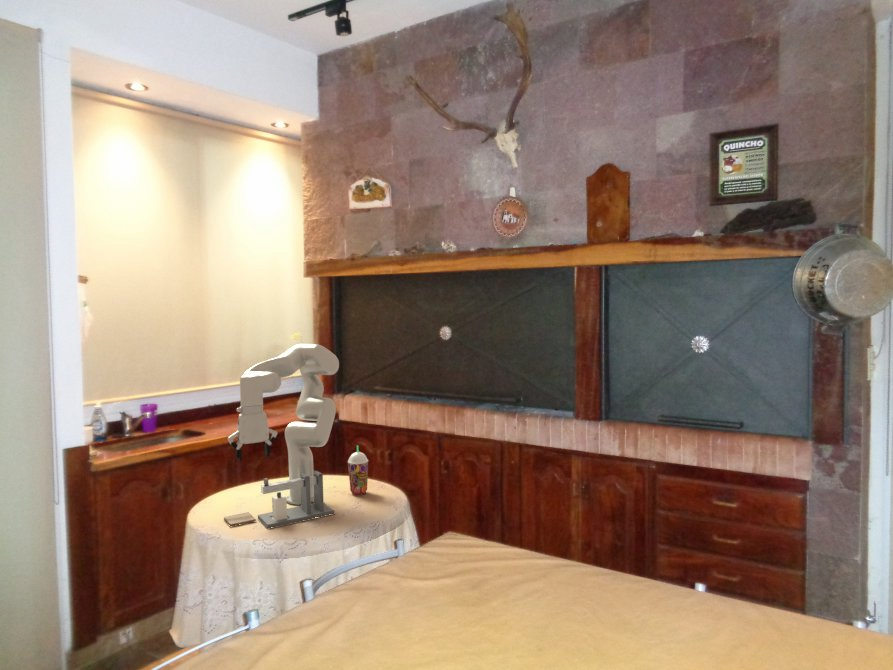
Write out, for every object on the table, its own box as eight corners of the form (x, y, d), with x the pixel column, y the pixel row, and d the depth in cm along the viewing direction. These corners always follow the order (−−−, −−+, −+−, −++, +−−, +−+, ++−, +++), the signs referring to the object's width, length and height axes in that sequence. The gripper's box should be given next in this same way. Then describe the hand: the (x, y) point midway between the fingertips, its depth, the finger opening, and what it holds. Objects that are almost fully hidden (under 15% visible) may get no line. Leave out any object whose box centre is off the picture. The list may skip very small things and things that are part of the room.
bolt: (261, 492, 232) (260, 478, 231) (319, 481, 244) (318, 468, 243) (263, 494, 230) (262, 480, 229) (321, 483, 241) (321, 469, 241)
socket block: (257, 518, 237) (256, 477, 236) (322, 505, 251) (320, 466, 250) (267, 528, 227) (266, 486, 226) (334, 514, 241) (333, 473, 240)
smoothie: (360, 497, 259) (358, 448, 258) (344, 494, 263) (342, 446, 262) (373, 492, 266) (372, 444, 265) (357, 489, 271) (356, 442, 269)
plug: (271, 520, 236) (269, 492, 235) (284, 517, 238) (283, 489, 237) (275, 524, 231) (274, 496, 231) (289, 521, 234) (287, 493, 233)
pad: (224, 519, 237) (224, 517, 237) (248, 514, 242) (248, 512, 242) (230, 527, 230) (230, 524, 230) (255, 521, 235) (255, 519, 234)
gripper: (229, 414, 218) (231, 464, 219) (279, 408, 228) (281, 456, 229) (224, 410, 225) (225, 459, 226) (273, 405, 234) (274, 452, 235)
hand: (253, 458), depth 227 cm, fingers open, 9 cm apart
